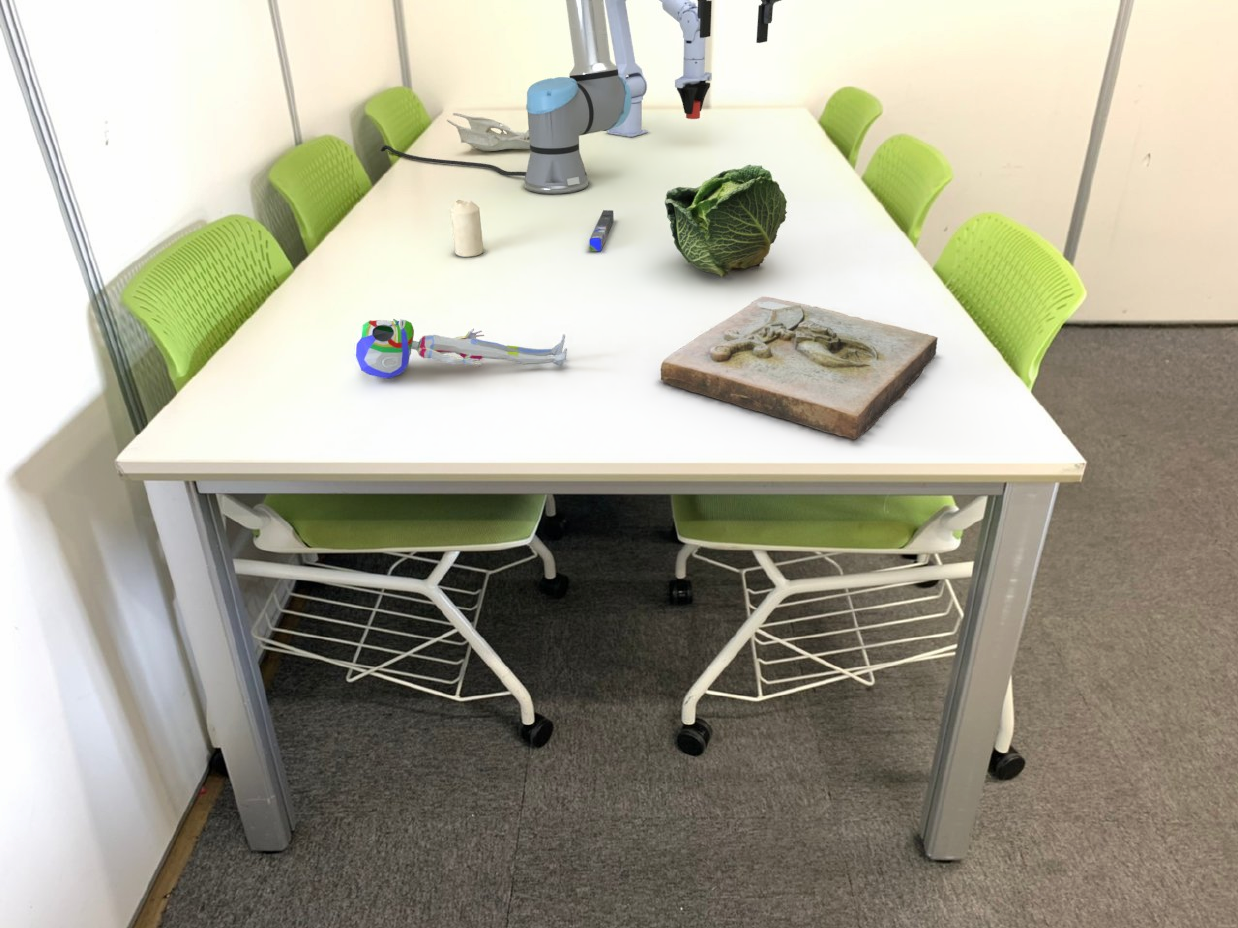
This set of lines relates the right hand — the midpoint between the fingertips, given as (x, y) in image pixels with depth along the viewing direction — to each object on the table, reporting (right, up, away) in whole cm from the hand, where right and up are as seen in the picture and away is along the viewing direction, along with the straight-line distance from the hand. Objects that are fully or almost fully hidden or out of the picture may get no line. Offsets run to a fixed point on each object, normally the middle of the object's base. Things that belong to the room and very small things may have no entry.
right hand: (692, 112), depth 246 cm
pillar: (-24, -50, -63) cm, 84 cm away
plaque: (+6, -83, -116) cm, 142 cm away
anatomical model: (-54, -10, +2) cm, 55 cm away
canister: (0, -1, +1) cm, 1 cm away
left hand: (+2, -12, -67) cm, 68 cm away
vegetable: (-1, -60, -80) cm, 100 cm away
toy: (-43, -82, -114) cm, 147 cm away
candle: (-50, -55, -70) cm, 102 cm away
